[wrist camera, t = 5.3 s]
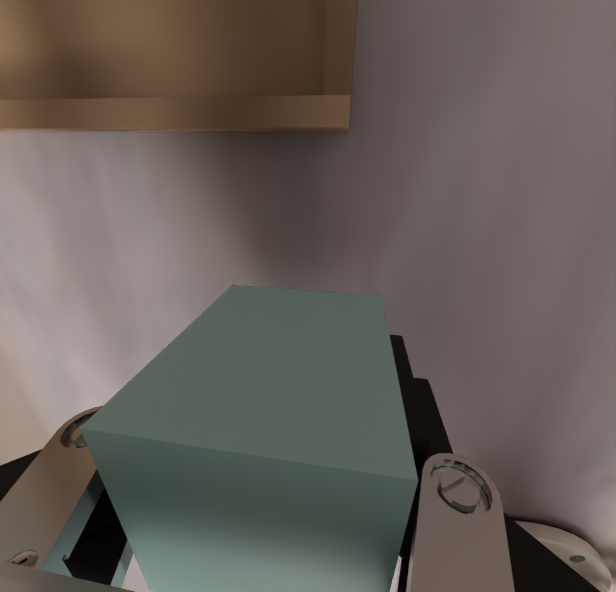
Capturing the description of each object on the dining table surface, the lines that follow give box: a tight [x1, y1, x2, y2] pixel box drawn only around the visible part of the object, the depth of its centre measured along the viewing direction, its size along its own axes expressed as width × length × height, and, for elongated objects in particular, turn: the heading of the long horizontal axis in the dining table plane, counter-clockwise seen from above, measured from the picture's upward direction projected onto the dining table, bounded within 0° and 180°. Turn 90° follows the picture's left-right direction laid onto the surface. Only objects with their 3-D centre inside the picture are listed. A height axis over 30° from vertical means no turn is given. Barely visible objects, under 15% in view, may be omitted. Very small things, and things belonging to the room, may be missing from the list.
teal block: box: [80, 285, 418, 592], centre depth 8 cm, size 5×5×6 cm
